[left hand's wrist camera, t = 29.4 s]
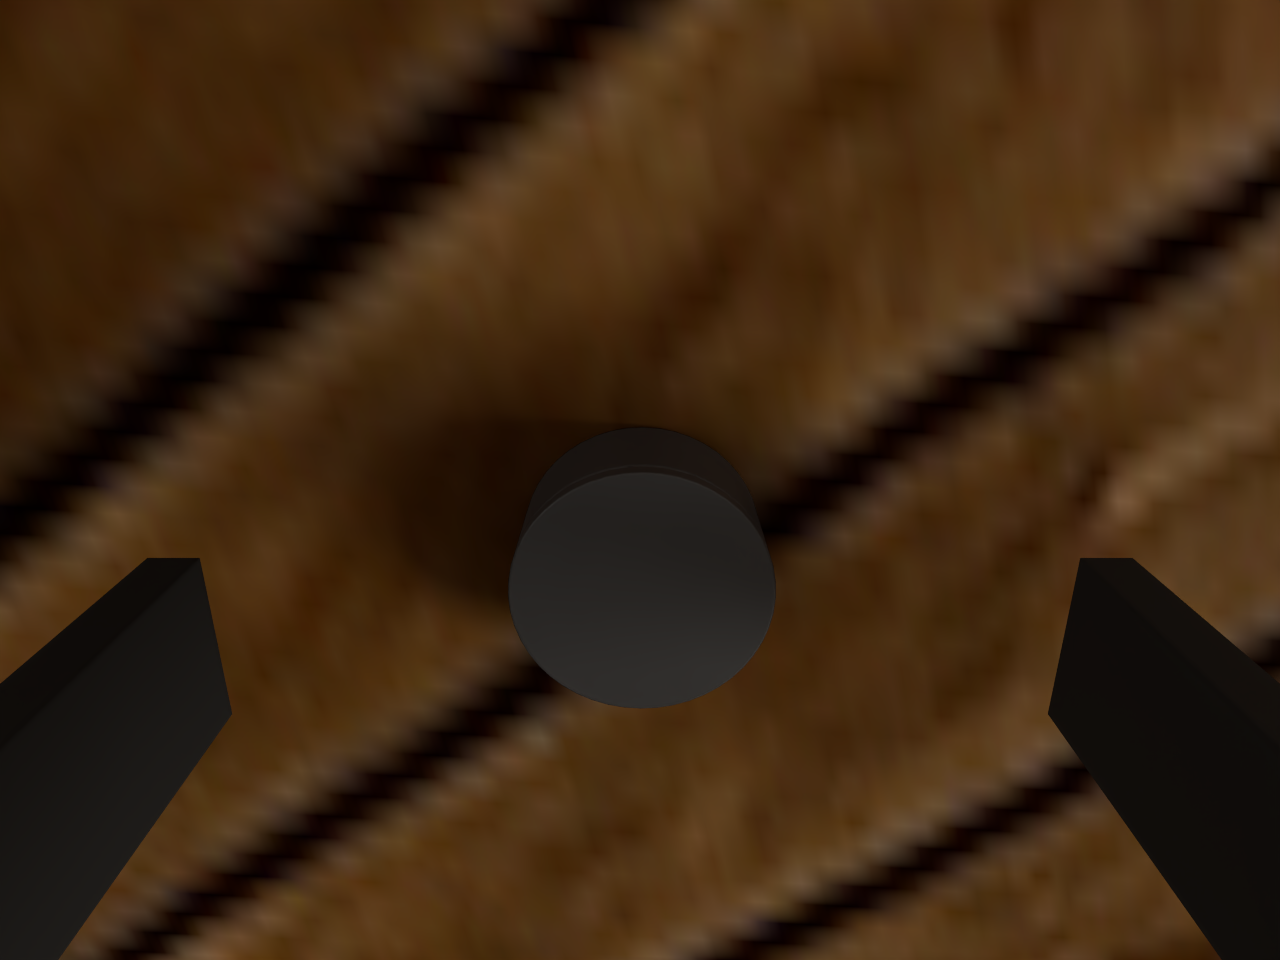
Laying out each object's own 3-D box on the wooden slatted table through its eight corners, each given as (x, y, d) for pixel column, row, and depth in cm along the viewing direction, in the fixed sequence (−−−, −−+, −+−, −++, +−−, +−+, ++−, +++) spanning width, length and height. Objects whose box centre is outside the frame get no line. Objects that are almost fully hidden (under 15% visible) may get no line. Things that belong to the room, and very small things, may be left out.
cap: (790, 460, 16) (814, 512, 13) (718, 659, 17) (729, 733, 15) (555, 399, 15) (541, 441, 13) (503, 607, 17) (483, 676, 15)
